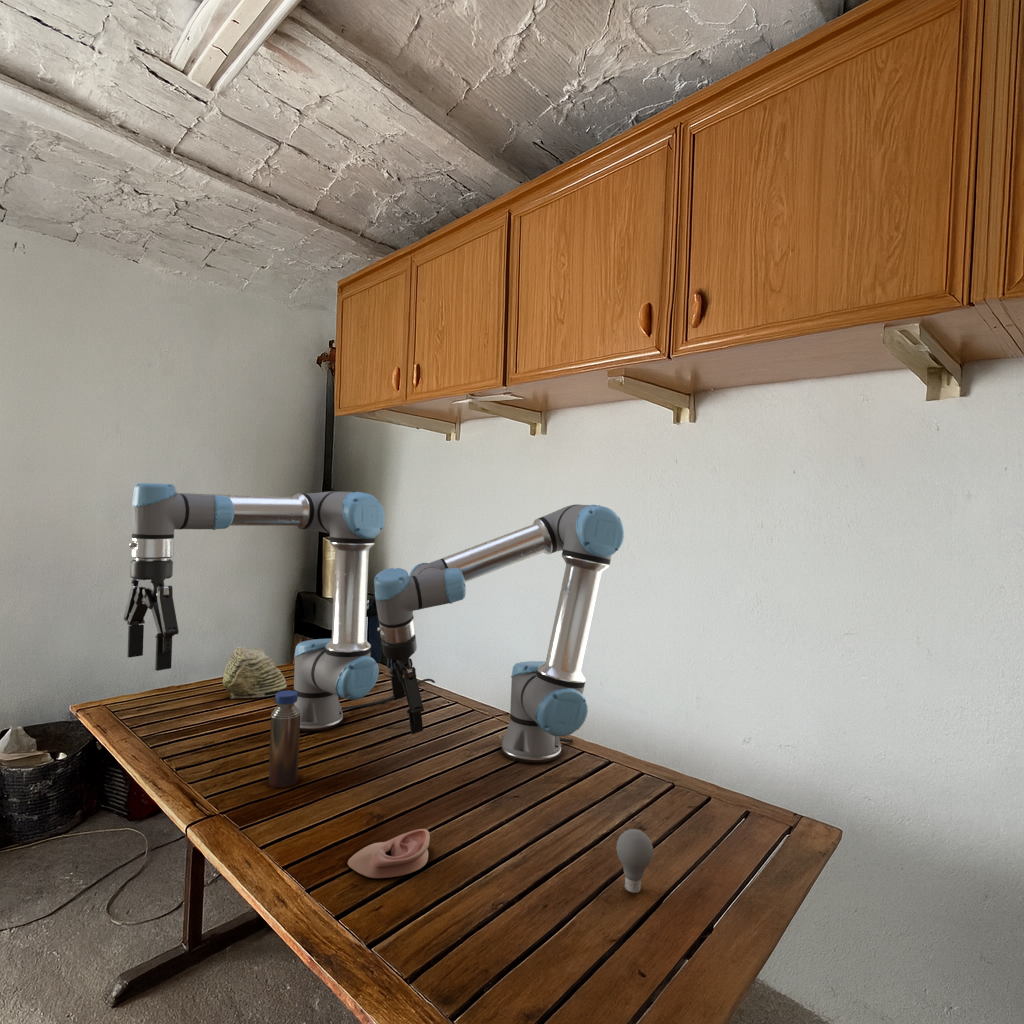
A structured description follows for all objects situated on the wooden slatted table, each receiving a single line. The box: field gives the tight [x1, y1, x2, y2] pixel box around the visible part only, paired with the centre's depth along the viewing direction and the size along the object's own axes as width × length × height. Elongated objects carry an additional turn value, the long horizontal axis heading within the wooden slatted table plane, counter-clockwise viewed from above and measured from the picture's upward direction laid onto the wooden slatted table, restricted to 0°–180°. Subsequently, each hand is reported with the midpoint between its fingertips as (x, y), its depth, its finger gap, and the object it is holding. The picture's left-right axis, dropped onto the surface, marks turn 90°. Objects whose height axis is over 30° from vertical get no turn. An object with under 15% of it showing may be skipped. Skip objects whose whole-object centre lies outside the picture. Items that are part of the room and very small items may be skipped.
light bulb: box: [615, 828, 654, 894], centre depth 106 cm, size 6×6×10 cm
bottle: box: [268, 703, 301, 788], centre depth 140 cm, size 6×6×19 cm
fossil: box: [222, 646, 288, 699], centre depth 198 cm, size 9×18×15 cm, turn 132°
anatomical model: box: [347, 828, 431, 879], centre depth 111 cm, size 13×4×12 cm
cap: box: [274, 689, 298, 705], centre depth 140 cm, size 5×5×2 cm
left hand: (148, 662), depth 129 cm, fingers open, 13 cm apart
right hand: (407, 714), depth 148 cm, fingers open, 13 cm apart
